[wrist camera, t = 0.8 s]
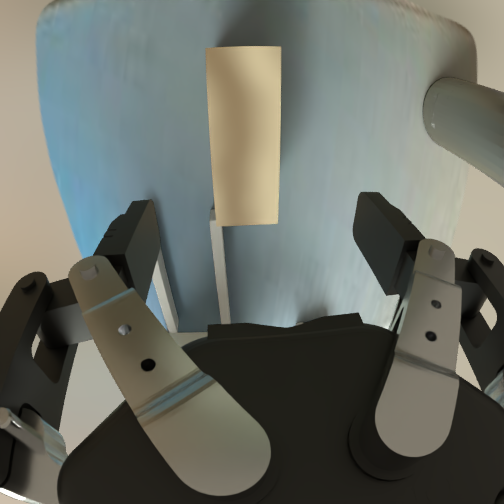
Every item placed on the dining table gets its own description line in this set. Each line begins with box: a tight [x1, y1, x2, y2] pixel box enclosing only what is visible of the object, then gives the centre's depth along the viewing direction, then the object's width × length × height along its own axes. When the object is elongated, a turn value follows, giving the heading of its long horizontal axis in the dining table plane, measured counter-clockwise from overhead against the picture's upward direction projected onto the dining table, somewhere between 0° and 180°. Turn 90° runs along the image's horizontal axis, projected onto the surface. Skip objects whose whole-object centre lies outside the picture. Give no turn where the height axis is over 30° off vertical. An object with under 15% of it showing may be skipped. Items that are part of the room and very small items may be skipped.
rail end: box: [206, 46, 281, 227], centre depth 24 cm, size 5×15×9 cm, turn 1°
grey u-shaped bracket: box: [152, 209, 231, 347], centre depth 32 cm, size 12×26×22 cm, turn 1°
